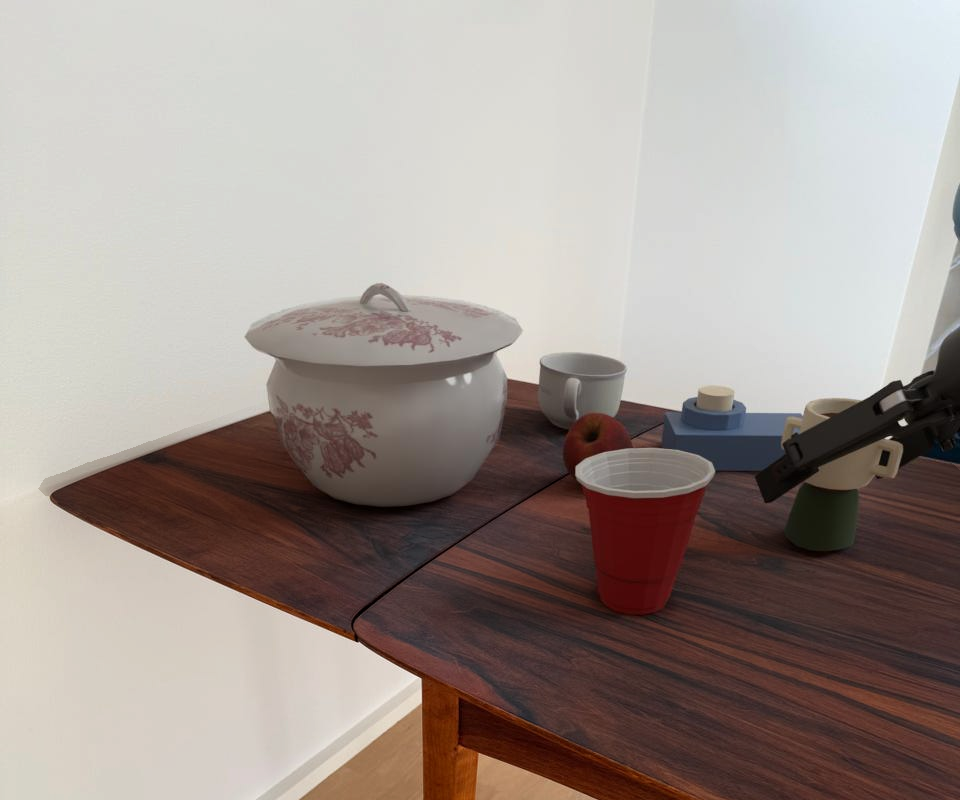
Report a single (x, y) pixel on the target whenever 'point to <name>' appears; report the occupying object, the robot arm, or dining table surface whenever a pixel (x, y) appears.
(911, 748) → the dining table surface
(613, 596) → the plastic cup
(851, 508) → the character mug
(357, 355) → the chamber pot
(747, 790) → the dining table surface
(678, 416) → the blue rectangular block
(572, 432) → the apple
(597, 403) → the teacup
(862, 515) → the dining table surface
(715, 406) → the button
